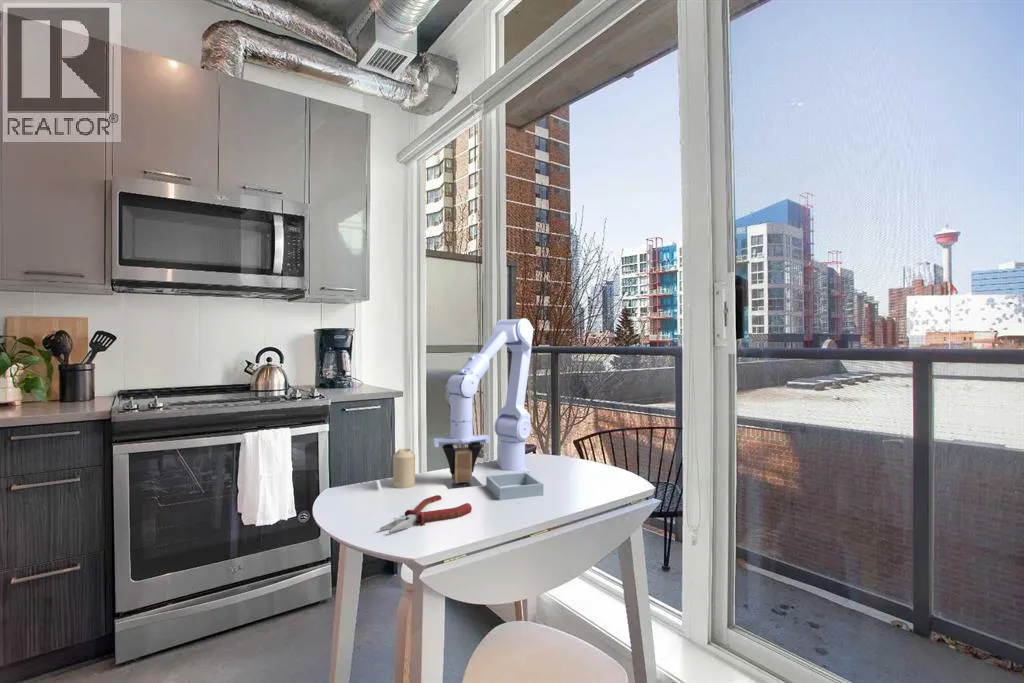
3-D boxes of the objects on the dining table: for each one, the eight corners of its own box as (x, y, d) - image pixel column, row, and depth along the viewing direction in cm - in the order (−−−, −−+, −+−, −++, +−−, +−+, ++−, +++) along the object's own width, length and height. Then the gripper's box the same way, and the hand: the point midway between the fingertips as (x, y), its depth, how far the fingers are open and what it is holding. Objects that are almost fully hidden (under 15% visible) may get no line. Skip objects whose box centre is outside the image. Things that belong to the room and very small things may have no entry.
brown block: (451, 478, 131) (451, 448, 131) (467, 477, 132) (467, 447, 132) (455, 483, 127) (455, 452, 127) (472, 481, 128) (471, 450, 128)
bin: (486, 489, 126) (486, 476, 126) (526, 485, 129) (526, 472, 129) (499, 503, 115) (499, 488, 115) (543, 498, 119) (543, 484, 119)
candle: (402, 492, 123) (402, 452, 123) (388, 488, 127) (388, 449, 127) (419, 487, 128) (419, 448, 128) (405, 483, 131) (405, 446, 131)
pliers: (366, 529, 101) (366, 516, 101) (437, 503, 117) (437, 492, 117) (404, 544, 94) (404, 530, 94) (474, 514, 110) (474, 502, 110)
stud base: (441, 482, 132) (441, 469, 132) (473, 479, 135) (473, 467, 135) (448, 492, 124) (448, 478, 124) (482, 488, 127) (482, 475, 127)
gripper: (436, 424, 123) (437, 479, 123) (492, 421, 128) (492, 473, 128) (431, 420, 130) (431, 471, 130) (484, 417, 135) (485, 467, 135)
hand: (461, 472), depth 130 cm, fingers closed on brown block, 4 cm apart
